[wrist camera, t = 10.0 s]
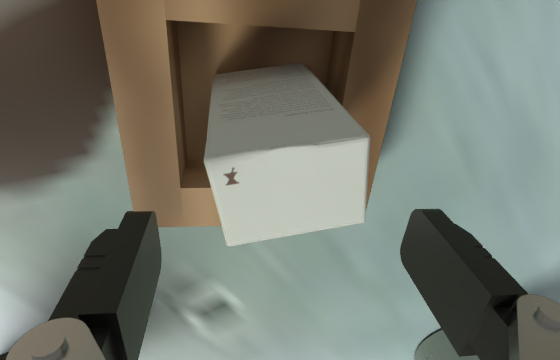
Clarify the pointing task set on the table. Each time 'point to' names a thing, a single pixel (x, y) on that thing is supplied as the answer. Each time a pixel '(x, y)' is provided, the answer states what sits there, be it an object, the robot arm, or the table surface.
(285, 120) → the skincare box
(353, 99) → the holder
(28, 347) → the robot arm
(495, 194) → the table surface
